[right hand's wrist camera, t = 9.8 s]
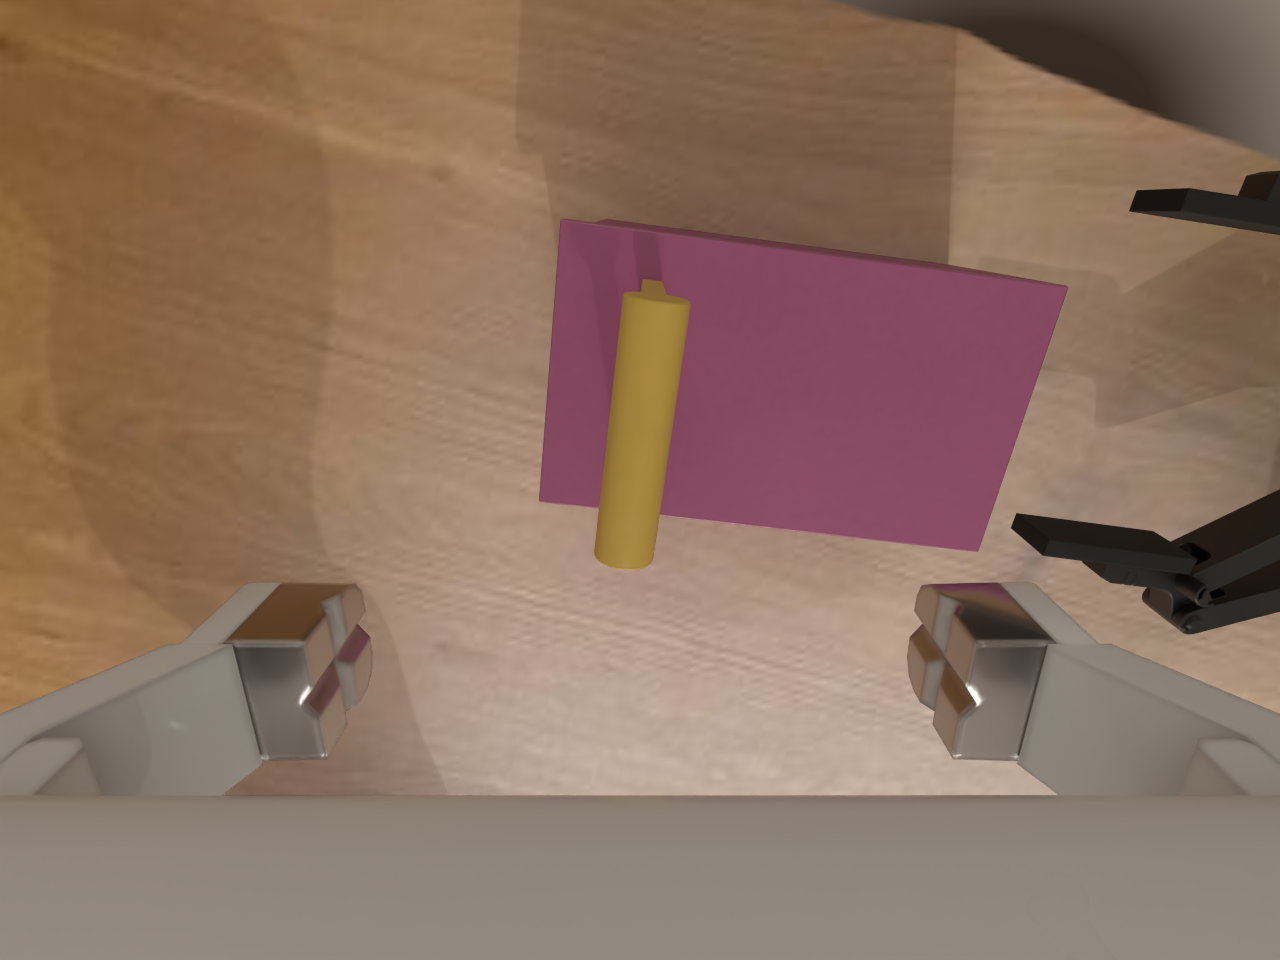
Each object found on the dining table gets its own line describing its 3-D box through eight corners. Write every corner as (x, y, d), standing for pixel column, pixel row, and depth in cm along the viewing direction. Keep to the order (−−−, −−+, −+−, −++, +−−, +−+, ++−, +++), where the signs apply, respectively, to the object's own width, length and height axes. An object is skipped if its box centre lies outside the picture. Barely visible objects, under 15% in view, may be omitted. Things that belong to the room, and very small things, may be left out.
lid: (541, 494, 27) (504, 600, 19) (563, 218, 23) (526, 222, 16) (969, 543, 27) (1087, 663, 20) (1056, 283, 24) (1239, 315, 16)
